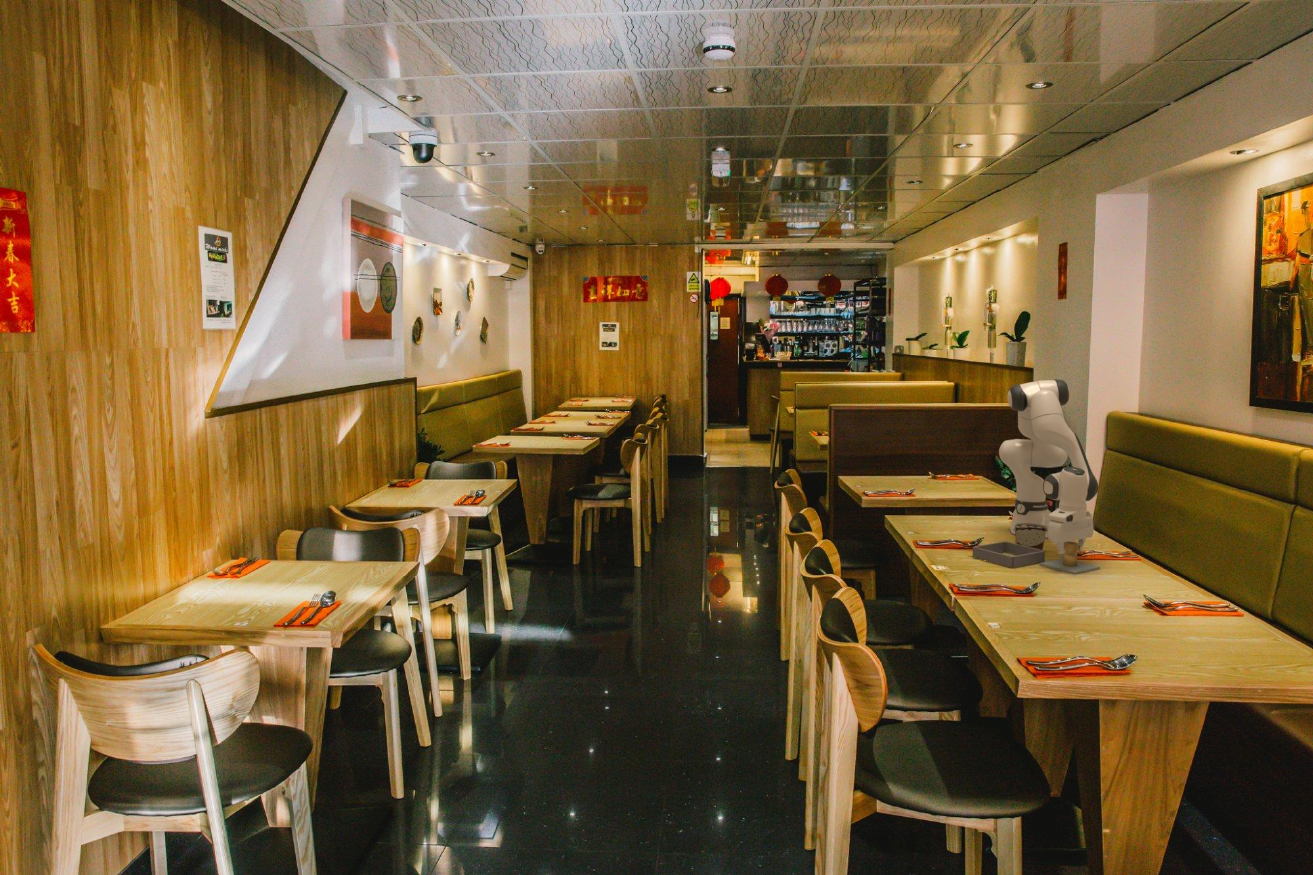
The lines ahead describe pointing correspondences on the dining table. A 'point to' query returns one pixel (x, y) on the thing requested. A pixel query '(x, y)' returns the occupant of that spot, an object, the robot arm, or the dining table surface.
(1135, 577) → the dining table surface
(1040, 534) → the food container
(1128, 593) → the dining table surface
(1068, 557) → the peg
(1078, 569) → the mat
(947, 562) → the dining table surface
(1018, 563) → the frame
